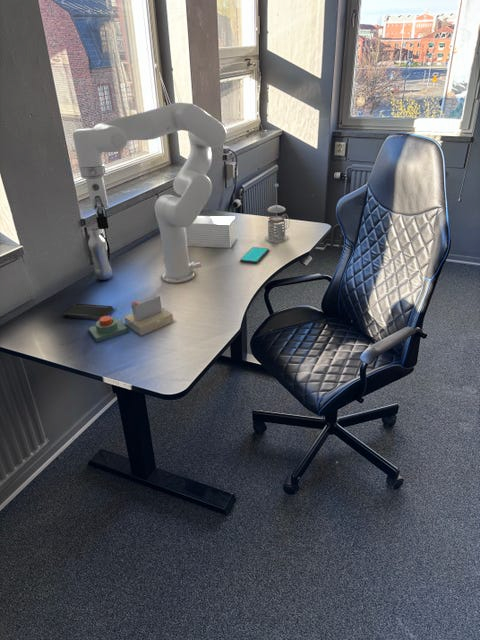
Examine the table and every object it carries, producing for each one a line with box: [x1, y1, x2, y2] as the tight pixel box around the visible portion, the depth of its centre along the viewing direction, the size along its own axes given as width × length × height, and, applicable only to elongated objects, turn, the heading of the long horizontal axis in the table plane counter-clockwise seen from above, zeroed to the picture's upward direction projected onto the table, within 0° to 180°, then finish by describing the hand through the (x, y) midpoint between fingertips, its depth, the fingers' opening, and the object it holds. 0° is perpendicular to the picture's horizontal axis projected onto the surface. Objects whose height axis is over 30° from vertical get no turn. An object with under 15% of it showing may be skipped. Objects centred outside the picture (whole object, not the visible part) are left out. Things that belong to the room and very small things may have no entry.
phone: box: [63, 303, 114, 321], centre depth 157 cm, size 8×1×15 cm
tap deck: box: [123, 306, 174, 337], centre depth 149 cm, size 13×13×3 cm
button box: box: [87, 316, 128, 343], centre depth 146 cm, size 10×8×4 cm
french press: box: [265, 183, 290, 244], centre depth 206 cm, size 10×12×25 cm
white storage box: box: [185, 215, 237, 249], centre depth 210 cm, size 32×11×11 cm, turn 76°
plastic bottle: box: [87, 227, 113, 281], centre depth 178 cm, size 6×7×20 cm
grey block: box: [130, 293, 163, 321], centre depth 147 cm, size 9×3×6 cm, turn 131°
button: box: [100, 315, 113, 326], centre depth 144 cm, size 4×4×2 cm
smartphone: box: [240, 246, 270, 264], centre depth 195 cm, size 7×1×15 cm
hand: (102, 224), depth 153 cm, fingers open, 9 cm apart
